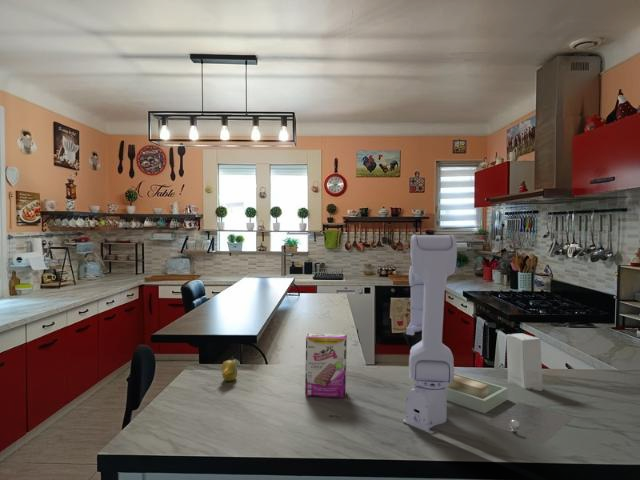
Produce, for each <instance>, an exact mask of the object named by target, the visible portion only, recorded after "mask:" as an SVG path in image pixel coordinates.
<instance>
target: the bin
mask: <svg viewBox="0 0 640 480" xmlns="http://www.w3.org/2000/svg"><path fill="white" fill-rule="evenodd" d="M454 375H456V376H460V377H463V378H466V379H470V380H473V381H477V382H480V383H483V384H487V385H488V397H486V398H484V399H481V398H478V397H475V396H472V395H469V394H466V393H462V392H459V391H456V390H453V389H450V388H447V402H450V403H454V404H456V405H459V406H462V407H465V408H467V409H470V410H474V411H476V412H480V413H482V414H486V413H488V412H489V411H492V410H493V409H495V408H496V407H499V406H500V405H501V404H503V403H504V402H507V401H508V400H509V398H508V397H509V395H508V394H509V389H508V388H509V387H505V386H501V385H498V384H495V383H491V382H488V381H483V380H480V379H476V378H473V377H470V376H466V375H462V374H459V373H455V372H454Z"/></svg>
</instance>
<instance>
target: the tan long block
mask: <svg viewBox="0 0 640 480" xmlns="http://www.w3.org/2000/svg"><path fill="white" fill-rule="evenodd" d="M448 388H450V389H453V390H456V391H459V392H462V393H466V394H469V395H472V396H475V397H478V398H481V399H484V398H486V397H488V385H487V384H483V383H480V382H477V381H473V380H470V379H466V378H463V377H460V376H456V375H454V380H453V381H452V383H451V384H450V383H448Z"/></svg>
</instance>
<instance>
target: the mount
mask: <svg viewBox="0 0 640 480" xmlns="http://www.w3.org/2000/svg"><path fill="white" fill-rule="evenodd" d="M571 420H573V417H570V416H566V415H562V414H561V413H557V412H554V411H550V410H547V409H543V408H540V407H537V406H534V405H530V404H527V403H524V402H522V401H520V402H518V403H516V404H514V405H513V406H511V407H510V408H508V409H506V410H505V411H503V412H502V413H500V414H498V415H497V416H495V417H493V418H492V419H490V420H489V421H487V422H485V423H486V424H487V425H489V426H492V427H495V428H498V429H499V430H503V431H506V432H509V433H510V434H514V435H517V436H520V437H522V438H524V439H528V440H530V441H533V442H537V443H538V444H542V445H543V444H545V443H546V442H547V441H548V440H549V439H550V438H551V437H553V436H554V435H555V434H556V433H557V432H558V431H560V430H561V429H562V428H563V427H564V426H565V425H567V423H569V422H570V421H571Z"/></svg>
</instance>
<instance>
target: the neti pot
mask: <svg viewBox="0 0 640 480" xmlns="http://www.w3.org/2000/svg"><path fill="white" fill-rule="evenodd" d="M220 369H221V372H222V378H223V380H224V381H226V382H233V381H234V380H235V379H236V378H237V376H238V368H237V364H236V359H233V360H225V361H223V362H222V364H221V368H220Z"/></svg>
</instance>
